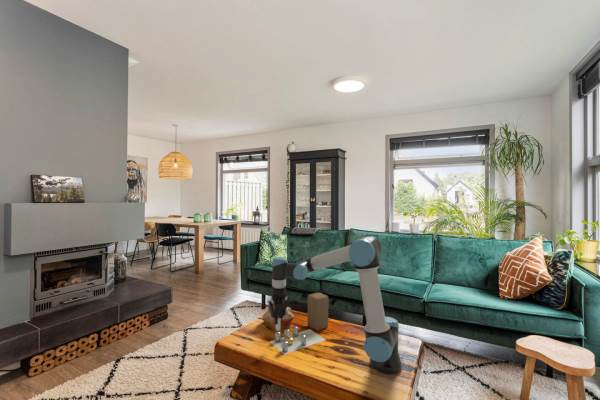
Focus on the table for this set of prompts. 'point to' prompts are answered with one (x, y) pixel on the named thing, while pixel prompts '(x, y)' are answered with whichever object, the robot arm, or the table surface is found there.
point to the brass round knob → (289, 340)
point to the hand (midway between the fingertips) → (277, 329)
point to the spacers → (287, 333)
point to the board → (310, 340)
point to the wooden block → (317, 311)
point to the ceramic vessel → (284, 325)
